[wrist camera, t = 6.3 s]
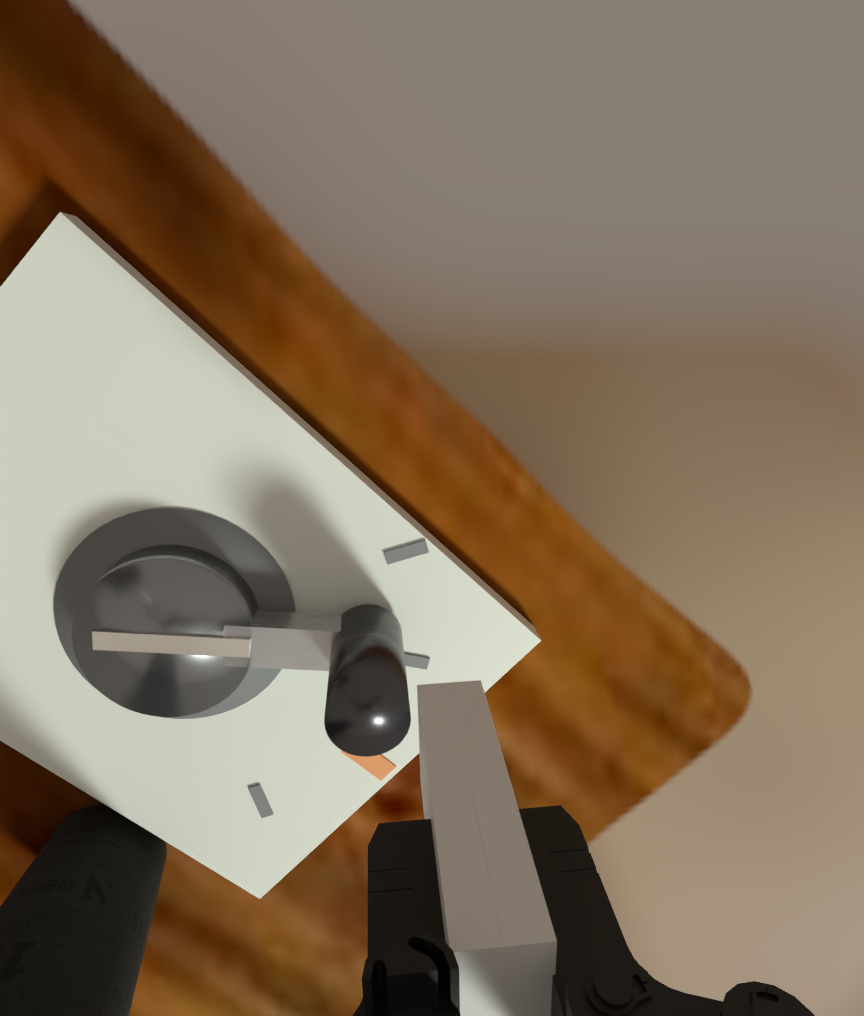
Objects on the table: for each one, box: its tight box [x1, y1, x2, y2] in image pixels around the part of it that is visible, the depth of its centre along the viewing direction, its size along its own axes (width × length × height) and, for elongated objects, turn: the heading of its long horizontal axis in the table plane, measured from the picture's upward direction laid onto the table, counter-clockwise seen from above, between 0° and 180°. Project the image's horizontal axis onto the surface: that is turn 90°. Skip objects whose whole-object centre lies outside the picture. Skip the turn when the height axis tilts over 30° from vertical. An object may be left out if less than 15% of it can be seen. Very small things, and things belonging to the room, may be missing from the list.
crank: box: [72, 545, 411, 757], centre depth 22 cm, size 11×6×6 cm, turn 83°
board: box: [0, 212, 541, 899], centre depth 25 cm, size 22×17×1 cm
